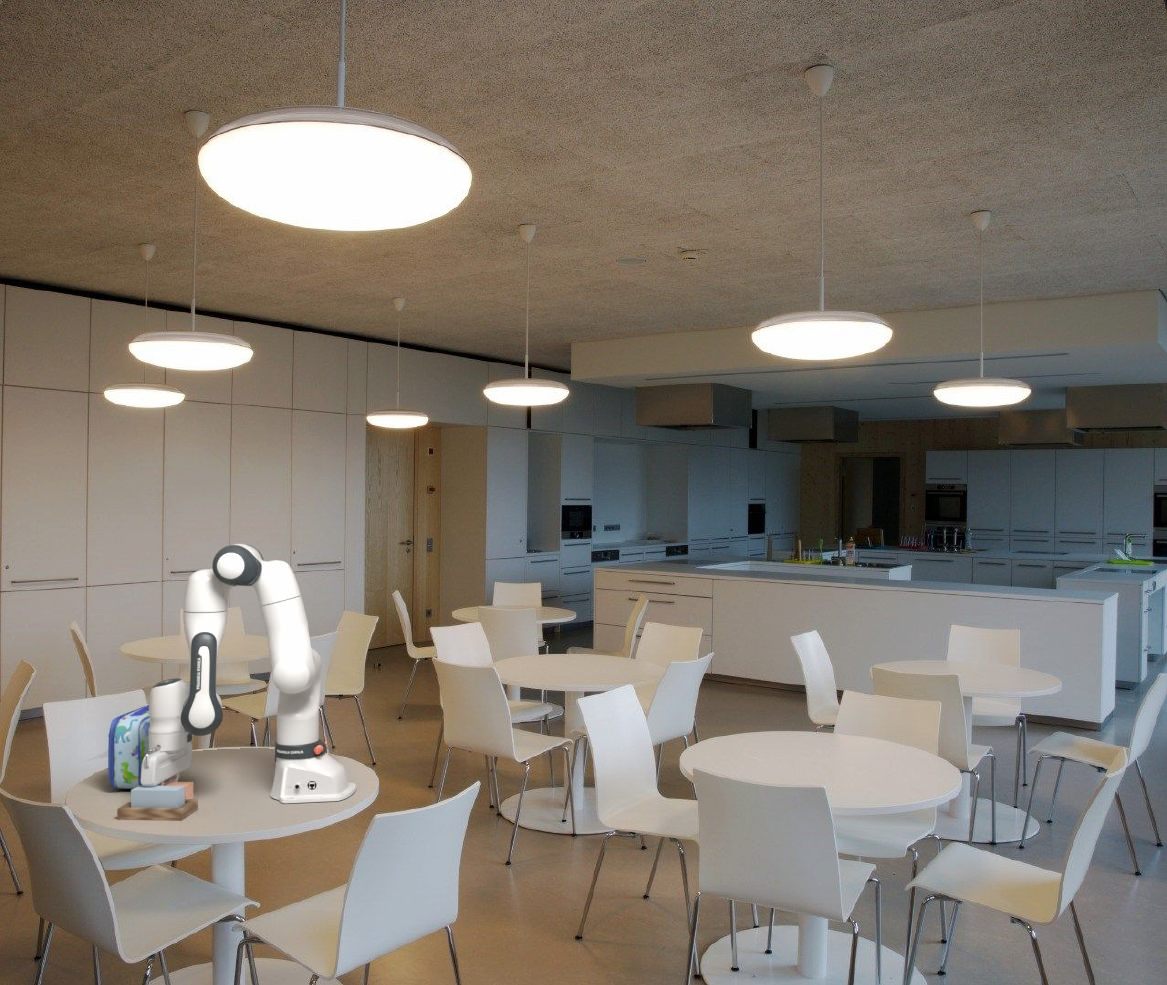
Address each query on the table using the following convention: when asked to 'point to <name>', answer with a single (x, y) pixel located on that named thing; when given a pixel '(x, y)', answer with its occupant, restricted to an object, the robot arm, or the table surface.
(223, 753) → the table surface
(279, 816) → the table surface
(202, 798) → the table surface
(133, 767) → the lunch box
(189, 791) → the salmon orange rectangular block
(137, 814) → the jig
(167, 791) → the pale blue upright slab
